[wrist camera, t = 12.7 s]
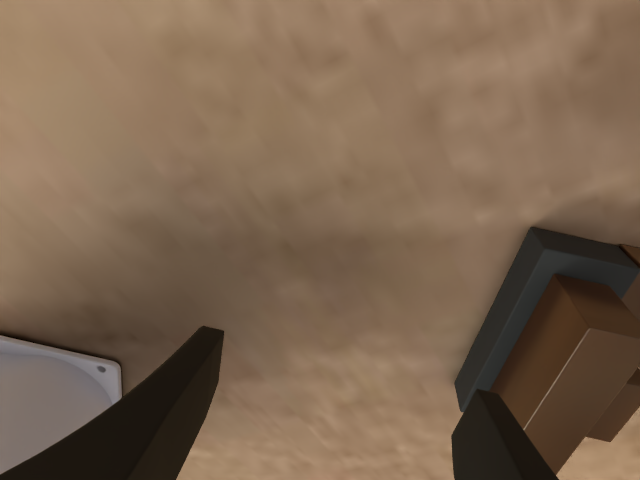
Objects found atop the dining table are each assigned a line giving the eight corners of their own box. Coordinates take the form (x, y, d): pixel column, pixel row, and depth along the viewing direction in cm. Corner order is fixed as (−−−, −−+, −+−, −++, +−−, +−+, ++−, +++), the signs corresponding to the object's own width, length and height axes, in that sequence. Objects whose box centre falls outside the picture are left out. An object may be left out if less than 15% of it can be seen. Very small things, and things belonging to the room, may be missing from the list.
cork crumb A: (524, 398, 24) (535, 425, 23) (557, 344, 22) (571, 370, 21) (595, 414, 24) (610, 442, 23) (634, 362, 22) (654, 389, 21)
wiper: (453, 382, 24) (473, 476, 20) (530, 226, 19) (580, 299, 15) (524, 398, 24) (561, 496, 19) (618, 245, 19) (698, 325, 15)
